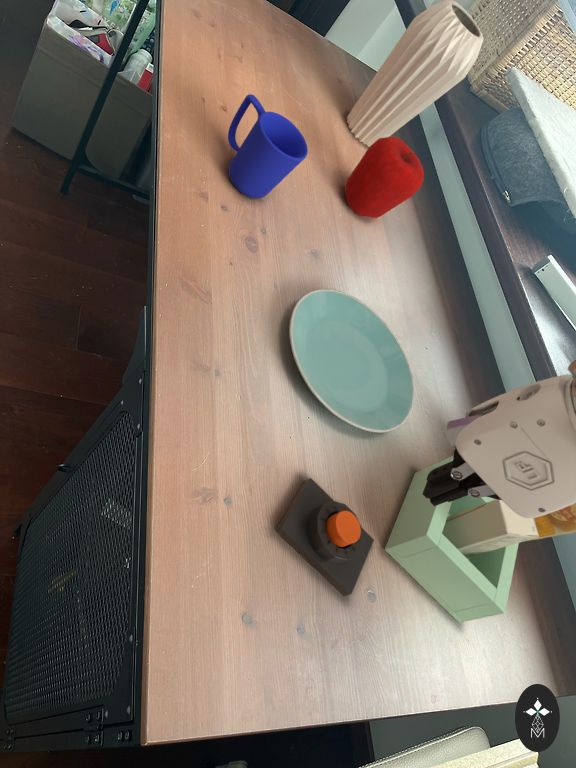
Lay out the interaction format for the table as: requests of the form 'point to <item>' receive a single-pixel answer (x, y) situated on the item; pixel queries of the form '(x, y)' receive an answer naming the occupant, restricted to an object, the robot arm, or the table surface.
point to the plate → (351, 361)
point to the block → (323, 537)
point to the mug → (264, 151)
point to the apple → (384, 178)
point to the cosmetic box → (488, 528)
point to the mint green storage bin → (449, 555)
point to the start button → (343, 528)
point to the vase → (417, 71)
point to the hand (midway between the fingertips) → (431, 489)
